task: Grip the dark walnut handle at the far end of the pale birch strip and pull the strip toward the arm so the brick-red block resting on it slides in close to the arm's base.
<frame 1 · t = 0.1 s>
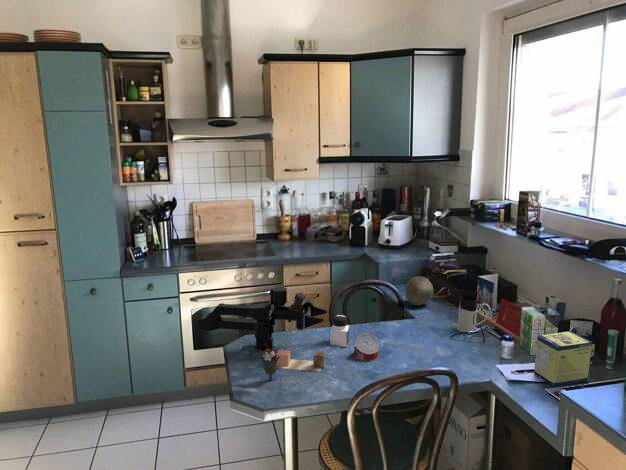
hand: (325, 315, 206), 17 cm above the kitchen counter, tool horizontal, fingers open, 9 cm apart
strip: (297, 359, 197), point 3 cm above the kitchen counter, slide at 0.0 cm, touching block
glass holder: (472, 330, 234), on the kitchen counter
canned food: (366, 356, 208), on the kitchen counter
block: (283, 363, 199), point 1 cm above the kitchen counter, touching strip
protein box: (560, 378, 190), on the kitchen counter
cantaloupe: (418, 305, 267), on the kitchen counter
medicine bottle: (339, 343, 220), on the kitchen counter
sundae: (270, 383, 186), on the kitchen counter
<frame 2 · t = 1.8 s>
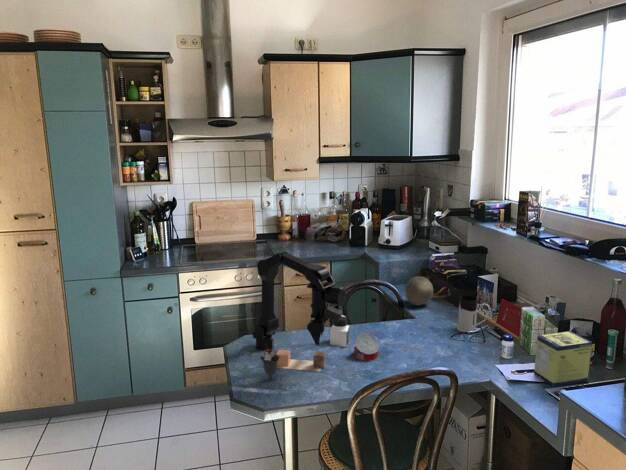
hand: (319, 339, 194), 12 cm above the kitchen counter, tool pointing down, fingers open, 9 cm apart
nothing on the kitchen counter moved.
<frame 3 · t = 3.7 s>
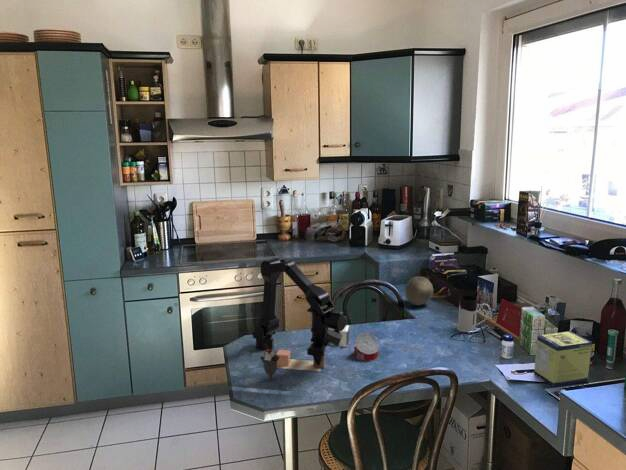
hand: (319, 362, 196), 3 cm above the kitchen counter, tool pointing down, fingers closed on strip, 3 cm apart
strip: (297, 359, 197), point 3 cm above the kitchen counter, slide at 0.0 cm, touching block, gripper
everything else where it was.
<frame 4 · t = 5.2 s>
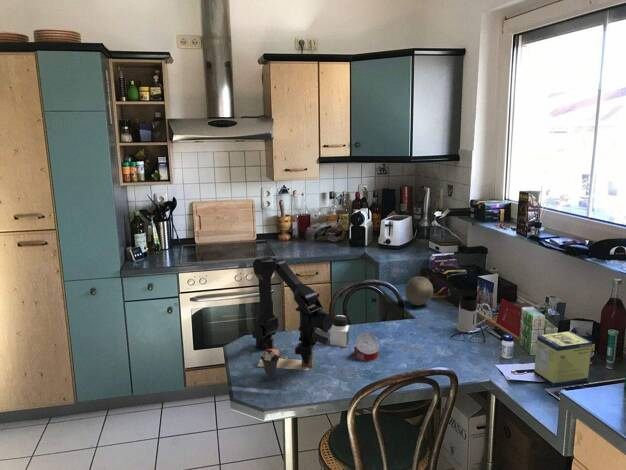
hand: (307, 362, 197), 2 cm above the kitchen counter, tool pointing down, fingers closed on strip, 3 cm apart
strip: (285, 358, 198), point 3 cm above the kitchen counter, slide at 4.5 cm, touching block, gripper
block: (272, 362, 199), point 1 cm above the kitchen counter, touching strip
everything else where it was.
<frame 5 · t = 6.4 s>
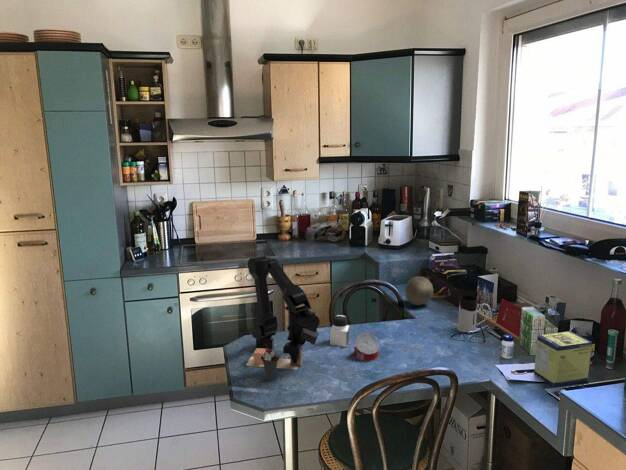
hand: (296, 361, 198), 2 cm above the kitchen counter, tool pointing down, fingers closed on strip, 3 cm apart
strip: (274, 357, 199), point 3 cm above the kitchen counter, slide at 8.9 cm, touching block, gripper
block: (261, 361, 200), point 1 cm above the kitchen counter, touching strip
everything else where it was.
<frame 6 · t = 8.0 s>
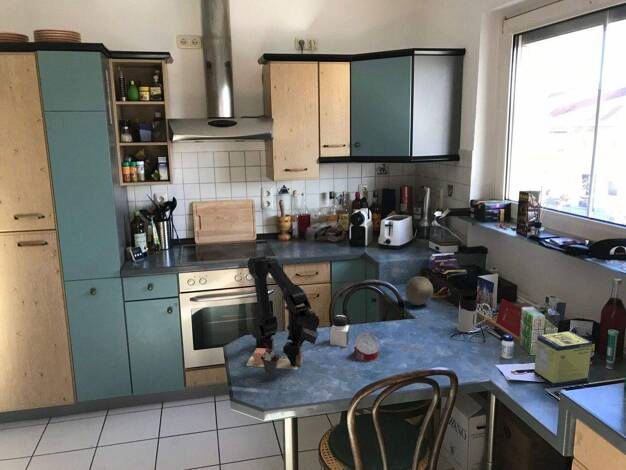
hand: (296, 360, 198), 3 cm above the kitchen counter, tool pointing down, fingers open, 9 cm apart
strip: (274, 357, 199), point 3 cm above the kitchen counter, slide at 8.9 cm, touching block
everything else where it was.
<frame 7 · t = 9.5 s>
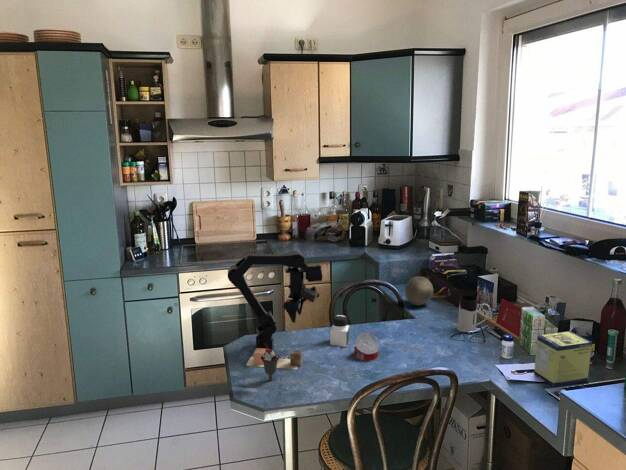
hand: (296, 318, 213), 13 cm above the kitchen counter, tool pointing down, fingers open, 9 cm apart
nothing on the kitchen counter moved.
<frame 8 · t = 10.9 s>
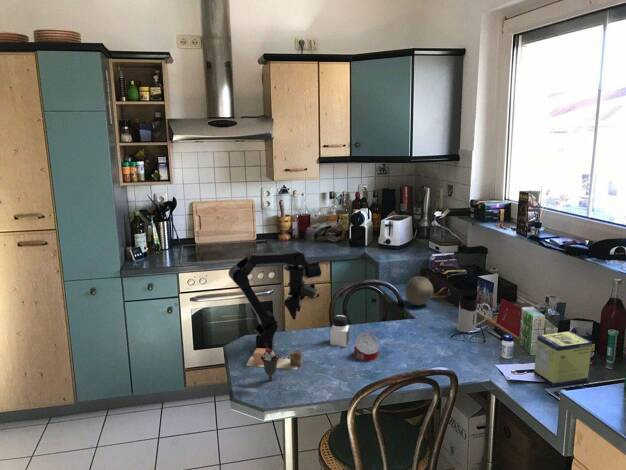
hand: (296, 315, 216), 13 cm above the kitchen counter, tool pointing down, fingers open, 9 cm apart
nothing on the kitchen counter moved.
at the end: strip slide at 8.9 cm; block inside the target area (0.6 cm from its centre), point 1.2 cm above the kitchen counter; block tilted 0° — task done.
